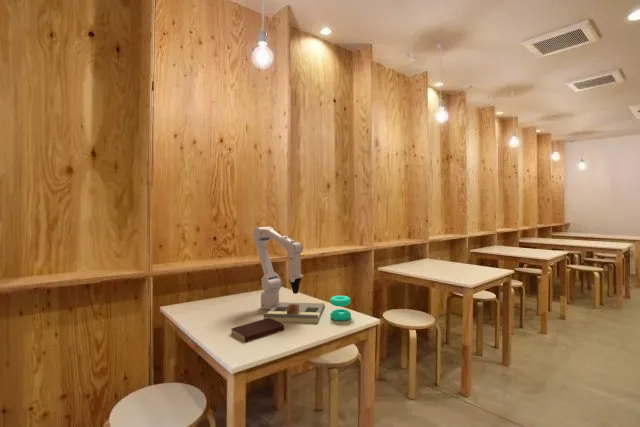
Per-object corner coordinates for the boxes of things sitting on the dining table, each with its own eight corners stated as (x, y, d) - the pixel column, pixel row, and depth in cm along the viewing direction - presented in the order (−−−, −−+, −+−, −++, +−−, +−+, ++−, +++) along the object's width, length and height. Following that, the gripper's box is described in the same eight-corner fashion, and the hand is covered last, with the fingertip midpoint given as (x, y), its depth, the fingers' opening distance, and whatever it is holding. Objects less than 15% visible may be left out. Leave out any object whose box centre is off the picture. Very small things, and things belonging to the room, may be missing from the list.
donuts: (346, 301, 155) (326, 298, 160) (346, 322, 155) (326, 319, 160) (353, 295, 164) (334, 293, 168) (354, 316, 164) (335, 313, 169)
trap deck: (263, 321, 159) (263, 313, 159) (277, 305, 184) (277, 299, 184) (317, 322, 155) (317, 315, 155) (324, 307, 180) (324, 300, 180)
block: (286, 315, 161) (286, 307, 161) (289, 312, 166) (289, 304, 166) (297, 315, 160) (297, 307, 160) (299, 312, 165) (299, 304, 165)
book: (284, 331, 147) (284, 323, 147) (245, 343, 134) (244, 335, 134) (268, 324, 156) (268, 317, 156) (230, 335, 144) (230, 327, 144)
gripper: (300, 269, 162) (300, 297, 162) (305, 264, 176) (306, 289, 176) (285, 269, 163) (286, 296, 163) (292, 264, 177) (292, 289, 177)
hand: (295, 293), depth 170 cm, fingers closed
